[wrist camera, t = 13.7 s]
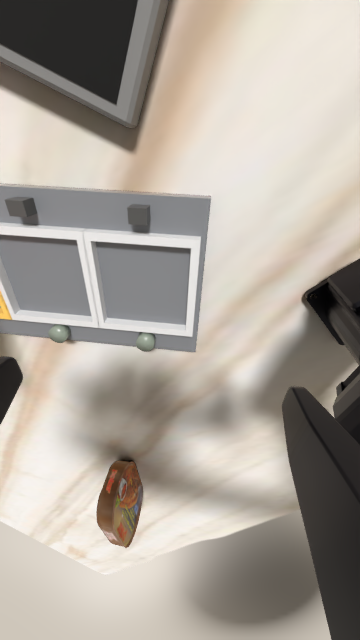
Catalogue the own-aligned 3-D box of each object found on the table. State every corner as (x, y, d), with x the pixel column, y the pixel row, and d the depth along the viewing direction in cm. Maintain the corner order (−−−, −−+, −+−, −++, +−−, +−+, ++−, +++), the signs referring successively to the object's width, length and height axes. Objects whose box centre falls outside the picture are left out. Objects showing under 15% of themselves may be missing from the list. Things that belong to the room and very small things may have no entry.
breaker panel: (210, 196, 17) (210, 202, 15) (195, 345, 24) (194, 361, 22) (-135, 175, 18) (-173, 178, 16) (-49, 321, 26) (-68, 334, 24)
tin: (145, 494, 45) (133, 556, 38) (128, 492, 46) (113, 554, 39) (131, 449, 37) (113, 519, 30) (111, 448, 37) (88, 517, 30)
